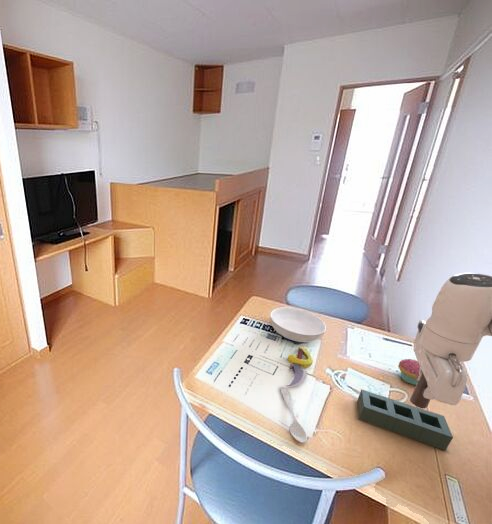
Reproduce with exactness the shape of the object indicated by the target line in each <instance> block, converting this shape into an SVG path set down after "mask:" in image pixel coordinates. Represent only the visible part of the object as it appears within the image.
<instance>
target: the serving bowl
mask: <svg viewBox="0 0 492 524" xmlns="http://www.w3.org/2000/svg"><path fill="white" fill-rule="evenodd" d="M269 321H270V324H271V327H272V328H273V330H274V331H276V333H278V334H279V336H282V337H284V338H285V339H288V340H290V341H293V342H297V343H312V342H315V341H317V340H319V339H320V338H322V337H323V336H324V334H325V332H326V331H327V325H326V323H325V322H324V321H323V319H321V318H320V317H319V316H317V315H316V314H314V313H312V312H310V311H307V310H305V309H301V308H297V307H292V306H291V307H290V306H281V307H276V308H274V309H273V310H271V311H270V313H269Z"/></svg>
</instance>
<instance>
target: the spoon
mask: <svg viewBox="0 0 492 524" xmlns="http://www.w3.org/2000/svg"><path fill="white" fill-rule="evenodd" d="M280 392H281V395H282V397H283V400H284V402H285V404H286V406H287V408H288V409H289V411H290V414H291V416H292V419H293V421H292V423H291V424H290V425H289V432H290V434H291V436H292V437H293V439H294V440H296V441H297V442H299V443H301V444H304V443H306V442H307V439H308V438H307V433H306V431H305V428H304V427H303V426H302V425H301V424H300V423H299V422H298V421H299V420H298V419H297V417H296V415H295V412H294V409H293V405H292V404H293V403H292V401H291V398H290V394H289V391H288V390H287V389H286V388H285V387H282V388H281V389H280Z"/></svg>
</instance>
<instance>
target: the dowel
mask: <svg viewBox="0 0 492 524" xmlns="http://www.w3.org/2000/svg"><path fill="white" fill-rule="evenodd" d="M427 387H428V385H427V381H426V379H425V376H424V374H423V372H422V374H421V376H420V378H419V380H418V383H417V385H415V387H414V390H413V392H412V394H411V396H410V399H409V402H411V405H413V406H415V407H418V408H421V409H427V408H428V406H429V404H430V402H431V400H430V399H427V398H424V396H423V393H422V391H423V389H424V388H427Z"/></svg>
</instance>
